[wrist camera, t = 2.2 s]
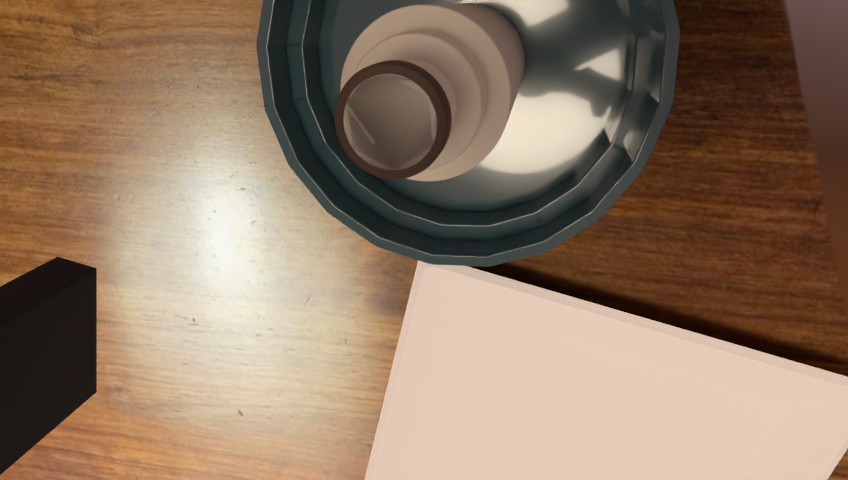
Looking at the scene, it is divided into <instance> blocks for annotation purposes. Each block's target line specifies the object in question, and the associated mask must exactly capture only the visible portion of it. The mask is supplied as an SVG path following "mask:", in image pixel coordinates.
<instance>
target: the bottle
mask: <svg viewBox="0 0 848 480" xmlns="http://www.w3.org/2000/svg"><path fill="white" fill-rule="evenodd" d="M524 69H525V56H524V50H523V45H522V42H521V40H520V37H519V35H518V33H517V31H516V29H515V28H514V27H513V25H512V24H511V23H510V22H509V21H508V20H507V19H506V18H505V17H504V16H503V15H502V14H500V13H499V12H497V11H496V10H494V9H492V8H490V7H487V6H484V5H480V4H474V3H457V4H426V5H411V6H406V7H402V8H399V9H396V10H393V11H391V12H389V13H386V14H384V15H382V16H381V17H379V18H378V19H377V20H375V21H374V22H372V23H371V24H370V25H369V26H368V27H367V28H366V29H365V30H364V31H363V32H362V33H361V34H360V36H359V37H358V38H357V39H356V41H355V43H354V44H353V46H352V47H351V49H350V51H349V54H348V56H347V58H346V61H345V64H344V67H343V71H342V77H341V89H340V94H339V96H338V99H337V102H336V107H335V118H334V119H335V128H336V133H337V136H338V139H339V142H340V144H341V146H342V148H343V150H344V151H345V153H346V154H347V155H348V157H349V158H350V159H351V160H352V161H353V162H354V163H355V164H356V165H357V166H358V167H360V168H361V169H362V170H364V171H366V172H367V173H369V174H372V175H374V176H377V177H380V178H385V179H404V178H407V179H410V180H416V181H440V180H445V179H449V178H453V177H456V176H458V175H461V174H463V173H465V172H467V171H469V170H470V169H472V168H474V167H475V166H476V165H478V164H479V163H480V162H481V161H482V160H484V159H485V158H486V157H487V156H488V155H489V153H490V152H491V151H492V150H493V149H494V147H495V146H496V144H497V143H498V141H499V139H500V138H501V136H502V134H503V131H504V129H505V127H506V124H507V121H508V119H509V116H510V113H511V110H512V107H513V105H514V102H515V99H516V96H517V93H518V91H519V88H520V85H521V82H522V79H523V75H524Z"/></svg>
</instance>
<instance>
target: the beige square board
mask: <svg viewBox="0 0 848 480" xmlns="http://www.w3.org/2000/svg"><path fill="white" fill-rule="evenodd" d="M847 448H848V377H847V376H843V375H840V374H836V373H833V372H829V371H826V370H823V369H819V368H816V367H812V366H809V365H805V364H802V363H798V362H795V361H792V360H788V359H785V358H781V357H778V356H774V355H771V354H767V353H764V352H761V351H757V350H754V349H750V348H747V347H743V346H740V345H736V344H733V343H730V342H726V341H723V340H719V339H716V338H712V337H709V336H705V335H702V334H699V333H695V332H692V331H688V330H685V329H681V328H678V327H674V326H671V325H668V324H664V323H661V322H657V321H654V320H650V319H647V318H643V317H640V316H637V315H633V314H630V313H626V312H623V311H619V310H616V309H613V308H609V307H606V306H602V305H599V304H595V303H592V302H588V301H585V300H582V299H578V298H575V297H571V296H568V295H564V294H561V293H557V292H554V291H551V290H547V289H544V288H540V287H537V286H533V285H530V284H526V283H523V282H520V281H516V280H513V279H509V278H506V277H502V276H499V275H495V274H492V273H489V272H485V271H482V270H478V269H475V268H471V267H468V266H459V265H433V264H428V263H425V262H422V261H419V260H418V263H417V267H416V271H415V275H414V279H413V283H412V288H411V292H410V296H409V300H408V304H407V308H406V312H405V316H404V320H403V324H402V328H401V332H400V336H399V340H398V345H397V349H396V353H395V357H394V361H393V365H392V369H391V373H390V377H389V381H388V385H387V389H386V393H385V397H384V402H383V406H382V410H381V414H380V418H379V422H378V426H377V430H376V434H375V438H374V442H373V446H372V450H371V454H370V459H369V463H368V467H367V471H366V475H365V479H364V480H827V479H828V478H829V476H830V475H831V473H832V471H833V470H834V468H835V467H836V465H837V464H838V462H839V461H840V459H841V458H842V456H843V455H844V453H845V451H846V450H847Z"/></svg>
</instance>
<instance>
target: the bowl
mask: <svg viewBox="0 0 848 480" xmlns="http://www.w3.org/2000/svg"><path fill="white" fill-rule="evenodd" d="M457 3H474V4H480V5H484V6H487V7H490V8H492V9H494V10H496V11H497V12H499V13H500V14H502V15H503V16H504V17H505V18H506V19H507V20H508V21H509V22H510V23H511V24H512V25H513V27H514V28H515V29H516V31H517V33H518V35H519V37H520V40H521V42H522V45H523V50H524V56H525V69H524V75H523V79H522V82H521V85H520V88H519V91H518V93H517V96H516V99H515V102H514V105H513V107H512V110H511V113H510V116H509V119H508V121H507V124H506V127H505V129H504V131H503V134H502V136H501V138H500V139H499V141H498V143H497V144H496V146H495V147H494V149H493V150H492V151H491V152H490V153H489V155H488V156H487V157H486V158H485V159H484V160H482V161H481V162H480V163H479V164H478V165H476V166H475V167H474V168H472V169H470V170H469V171H467V172H465V173H463V174H461V175H458V176H456V177H453V178H449V179H445V180H440V181H416V180H410V179H407V178H404V179H385V178H380V177H377V176H374V175H372V174H369V173H367V172H366V171H364V170H362V169H361V168H360V167H358V166H357V165H356V164H355V163H354V162H353V161H352V160H351V159H350V158H349V157H348V155H347V154H346V153H345V151H344V150H343V148H342V146H341V144H340V142H339V139H338V136H337V133H336V128H335V119H334V118H335V107H336V102H337V99H338V96H339V94H340V89H341V77H342V71H343V67H344V64H345V61H346V58H347V56H348V54H349V51H350V49H351V47H352V46H353V44H354V43H355V41H356V39H357V38H358V37H359V36H360V34H361V33H362V32H363V31H364V30H365V29H366V28H367V27H368V26H369V25H370V24H371V23H372V22H374V21H375V20H377V19H378V18H379V17H381V16H382V15H384V14H386V13H389V12H391V11H393V10H396V9H399V8H402V7H406V6H411V5H426V4H457ZM679 31H680V26H679V22H678V17H677V13H676V8H675V4H674V0H263V6H262V12H261V18H260V25H259V31H258V38H257V54H258V62H259V69H260V77H261V84H262V92H263V99H264V107H265V111H266V113H267V116H268V118H269V120H270V123H271V125H272V127H273V130H274V132H275V134H276V136H277V139H278V141H279V143H280V146H281V148H282V150H283V153H284V155H285V157H286V160H287V162H288V164H289V166H290V167H291V169H292V170H293V171H294V172H295V173H296V175H297V176H298V177H299V178H300V180H301V181H302V182H303V183H304V184H305V186H306V187H307V188H308V189H309V191H310V192H311V193H312V194H313V195H314V197H315V198H316V199H317V200H318V202H319V203H320V204H321V205H322V207H323V208H324V209H325V210H326V211H327V212H328V213H329V214H330V215H332V216H333V217H335V218H336V219H338V220H339V221H340V222H342V223H343V224H345V225H346V226H348V227H349V228H350V229H352V230H353V231H355V232H356V233H358V234H359V235H361V236H362V237H363V238H365V239H366V240H368V241H369V242H371V243H372V244H373V245H376V246H377V247H380V248H383V249H386V250H389V251H392V252H395V253H398V254H401V255H404V256H407V257H410V258H413V259H416V260H419V261H422V262H425V263H428V264H433V265H459V266H485V267H488V266H489V267H490V266H494V265H498V264H501V263H505V262H509V261H513V260H517V259H521V258H525V257H529V256H532V255H536V254H540V253H544V252H547V251H549V250H550V249H552V248H554V247H555V246H557V245H559V244H560V243H562V242H563V241H565V240H567V239H568V238H570V237H572V236H573V235H575V234H577V233H578V232H580V231H581V230H583V229H585V228H586V227H588V226H590V225H591V224H593V223H594V222H596V221H598V220H599V219H600V218H602V217H603V216H604V215H605V214H606V212H607V211H608V210H609V209H610V208H611V207H612V206H613V204H614V203H615V202H616V201H617V200H618V199H619V198H620V196H621V195H622V194H623V193H624V192H625V191H626V190H627V188H628V187H629V186H630V185H631V184H632V183H633V182H634V181H635V179H636V178H637V177H638V176H639V175H640V174H641V173H642V171H643V170H644V168H645V167H646V165H647V162H648V160H649V158H650V156H651V153H652V151H653V149H654V147H655V144H656V142H657V140H658V137H659V135H660V133H661V131H662V128H663V126H664V124H665V122H666V119H667V117H668V115H669V113H670V110H671V108H672V104H673V100H674V91H675V81H676V71H677V62H678V52H679V42H680V32H679Z"/></svg>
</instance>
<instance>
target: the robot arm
mask: <svg viewBox="0 0 848 480" xmlns="http://www.w3.org/2000/svg"><path fill="white" fill-rule="evenodd" d="M95 393H96V268H93V267H90V266H86V265H83V264H80V263H76V262H73V261H70V260H66V259H63V258H60V257H56V258H54V259H53V260H51V261H49V262H47V263H45V264H43V265H41V266H39V267H37V268H35V269H33V270H31V271H29V272H27V273H26V274H24V275H22V276H20V277H18V278H16V279H14V280H12V281H10V282H8V283H6V284H4V285H2V286H1V287H0V475H1V474H2V473H3V472H4V471H5V470H6V469H8V468H9V467H10V466H11V465H12V464H13V463H14V462H16V461H17V460H18V459H19V458H20V457H21V456H23V455H24V454H25V453H26V452H27V451H28V450H30V449H31V448H32V447H33V446H34V445H35V444H37V443H38V442H39V441H40V440H41V439H42V438H44V437H45V436H46V435H47V434H48V433H49V432H50V431H52V430H53V429H54V428H55V427H56V426H57V425H59V424H60V423H61V422H62V421H63V420H64V419H66V418H67V417H68V416H69V415H70V414H71V413H73V412H74V411H75V410H76V409H77V408H78V407H79V406H81V405H82V404H83V403H84V402H85V401H86V400H88V399H89V398H90V397H91V396H92V395H93V394H95Z"/></svg>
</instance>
